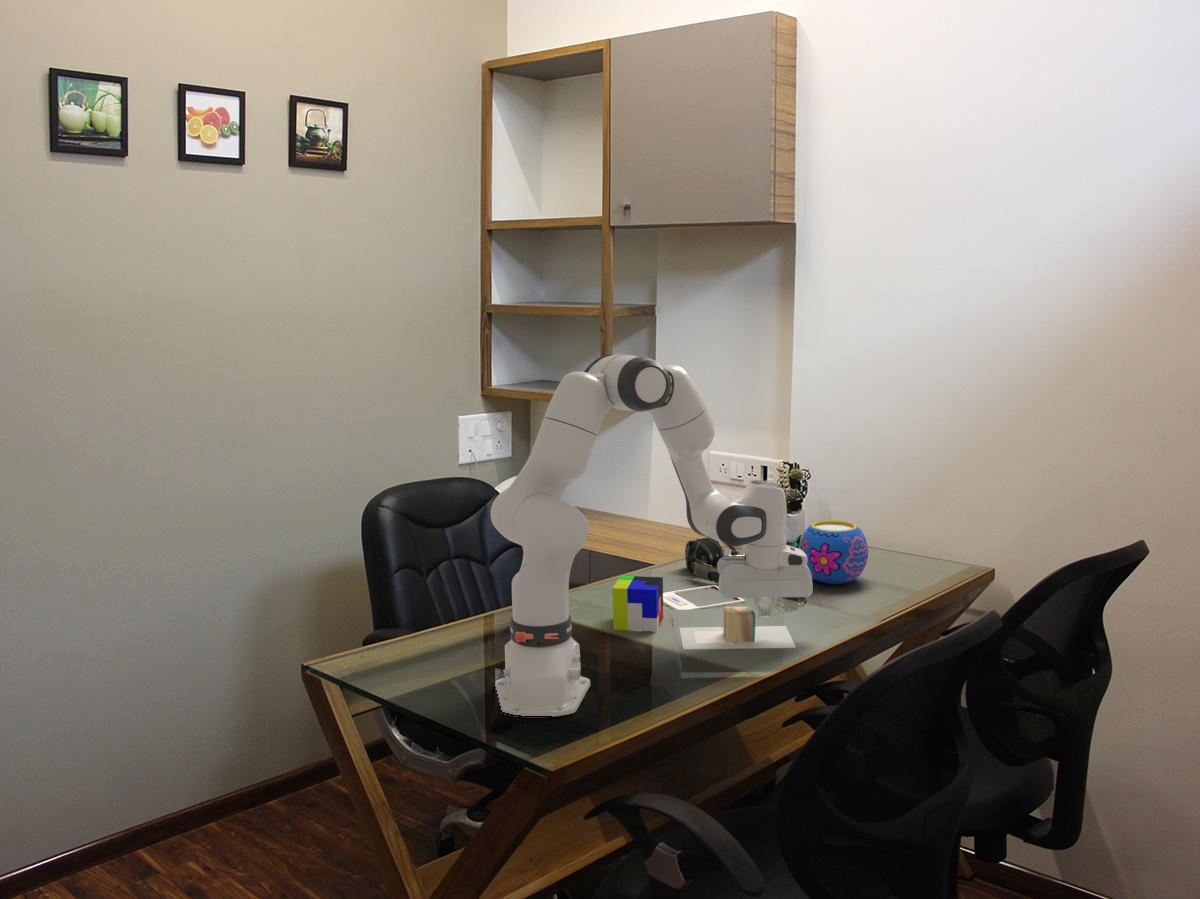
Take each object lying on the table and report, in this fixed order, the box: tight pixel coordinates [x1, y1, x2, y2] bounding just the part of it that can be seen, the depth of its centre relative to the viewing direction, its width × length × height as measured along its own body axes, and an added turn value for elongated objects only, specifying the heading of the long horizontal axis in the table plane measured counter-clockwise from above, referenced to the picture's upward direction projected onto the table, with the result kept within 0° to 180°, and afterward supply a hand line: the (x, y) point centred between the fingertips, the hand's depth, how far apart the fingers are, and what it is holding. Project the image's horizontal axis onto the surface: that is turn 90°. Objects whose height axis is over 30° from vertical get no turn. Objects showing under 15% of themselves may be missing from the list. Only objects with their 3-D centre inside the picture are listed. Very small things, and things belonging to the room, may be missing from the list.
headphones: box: [684, 537, 742, 585], centre depth 291 cm, size 13×13×20 cm
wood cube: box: [723, 606, 756, 642], centre depth 240 cm, size 6×6×6 cm
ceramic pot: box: [793, 520, 869, 585], centre depth 283 cm, size 18×18×15 cm
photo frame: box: [663, 584, 746, 611], centre depth 272 cm, size 15×1×18 cm
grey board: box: [678, 625, 797, 650], centre depth 241 cm, size 14×24×1 cm, turn 90°
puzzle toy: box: [612, 575, 664, 632], centre depth 254 cm, size 10×10×10 cm
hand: (764, 616), depth 240 cm, fingers closed
